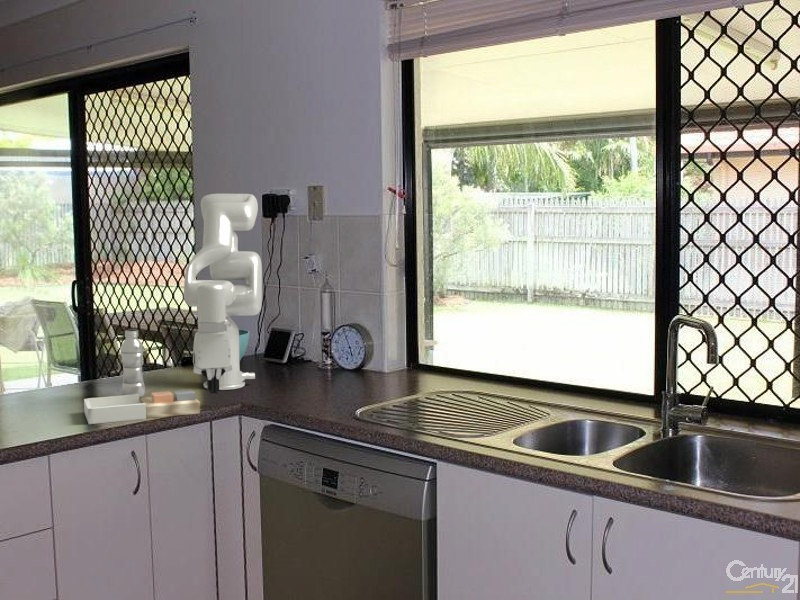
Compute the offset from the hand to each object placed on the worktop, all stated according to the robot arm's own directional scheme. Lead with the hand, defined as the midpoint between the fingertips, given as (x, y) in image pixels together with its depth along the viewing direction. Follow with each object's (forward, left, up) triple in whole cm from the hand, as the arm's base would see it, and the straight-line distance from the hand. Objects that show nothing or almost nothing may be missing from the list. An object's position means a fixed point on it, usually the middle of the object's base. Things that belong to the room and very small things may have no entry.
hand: (213, 392), depth 245 cm
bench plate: (+12, 0, -4) cm, 13 cm away
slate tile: (+8, 0, -1) cm, 8 cm away
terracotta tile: (+14, 0, -1) cm, 14 cm away
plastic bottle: (+19, -20, -4) cm, 28 cm away
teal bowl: (-16, -58, -4) cm, 60 cm away
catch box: (+26, 0, -4) cm, 27 cm away
